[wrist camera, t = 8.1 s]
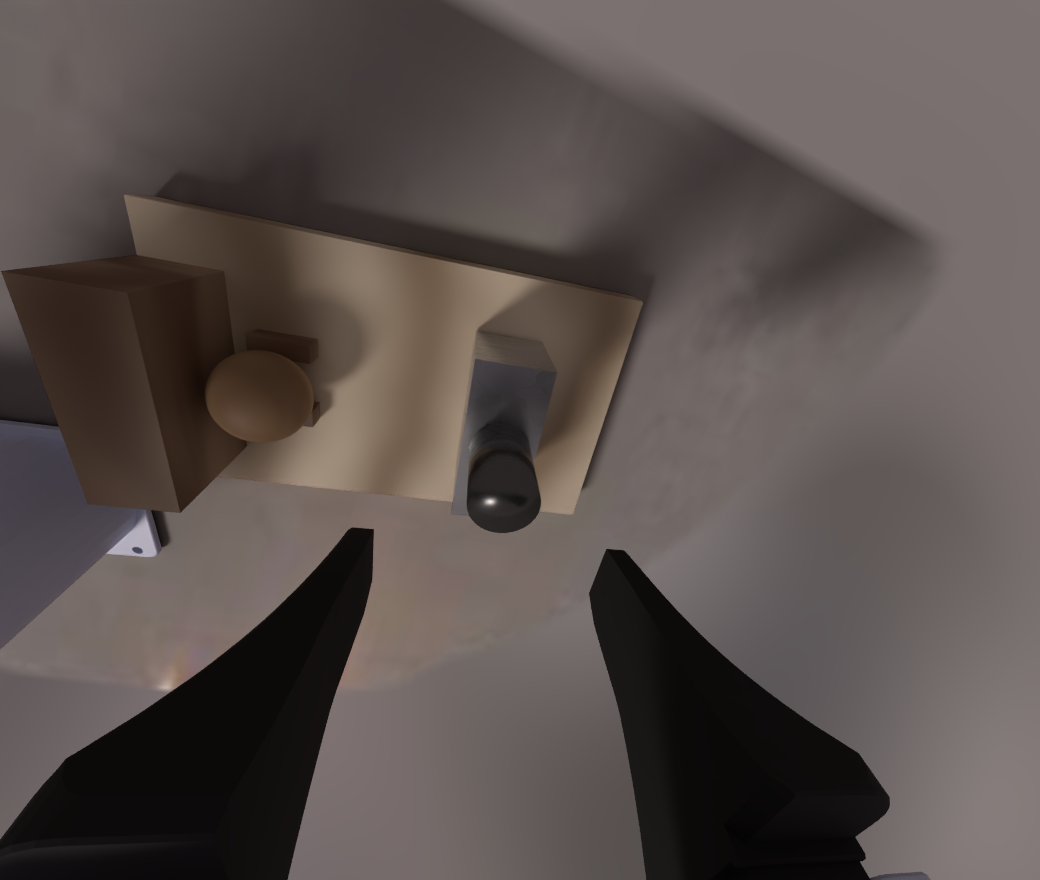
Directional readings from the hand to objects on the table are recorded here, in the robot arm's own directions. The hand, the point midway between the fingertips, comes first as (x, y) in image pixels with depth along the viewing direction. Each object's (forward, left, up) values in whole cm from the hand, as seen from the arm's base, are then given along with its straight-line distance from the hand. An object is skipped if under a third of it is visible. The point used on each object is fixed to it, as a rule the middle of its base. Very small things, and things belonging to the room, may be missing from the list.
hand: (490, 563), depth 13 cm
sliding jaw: (0, +1, -9) cm, 9 cm away
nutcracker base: (-4, +1, -10) cm, 11 cm away
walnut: (-9, +1, -6) cm, 11 cm away
